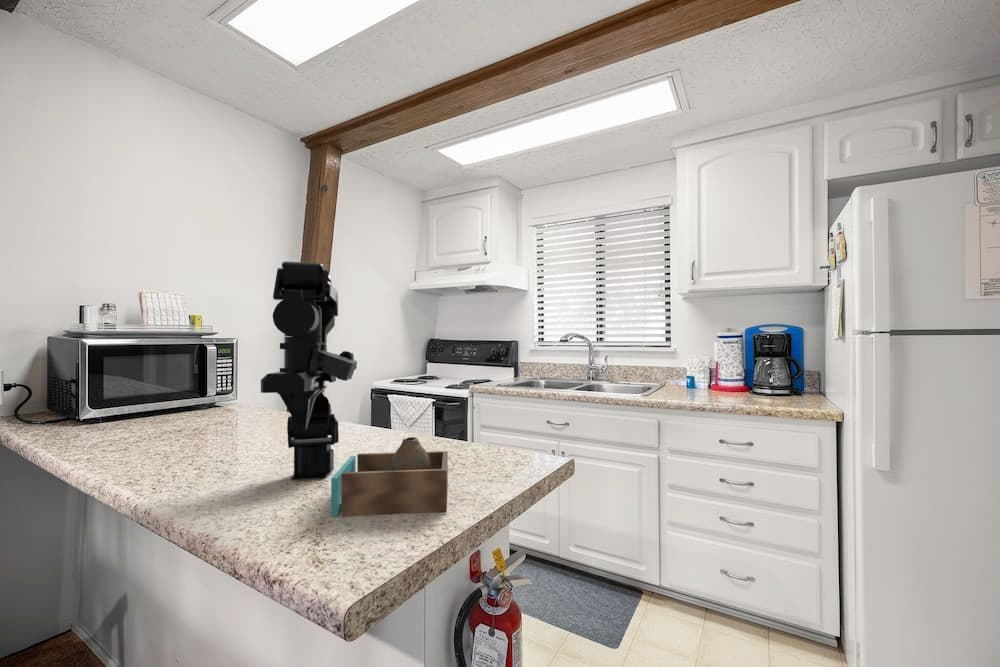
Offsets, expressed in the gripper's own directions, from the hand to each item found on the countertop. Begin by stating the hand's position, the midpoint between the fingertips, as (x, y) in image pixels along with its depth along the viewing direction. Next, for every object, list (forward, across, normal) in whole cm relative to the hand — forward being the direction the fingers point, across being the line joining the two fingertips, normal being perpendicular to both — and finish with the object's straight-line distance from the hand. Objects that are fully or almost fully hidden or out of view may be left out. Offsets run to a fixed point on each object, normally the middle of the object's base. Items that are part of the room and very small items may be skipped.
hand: (302, 429), depth 73 cm
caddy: (+12, -1, -16) cm, 20 cm away
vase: (+11, -1, -18) cm, 21 cm away
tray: (+12, -1, -15) cm, 19 cm away
